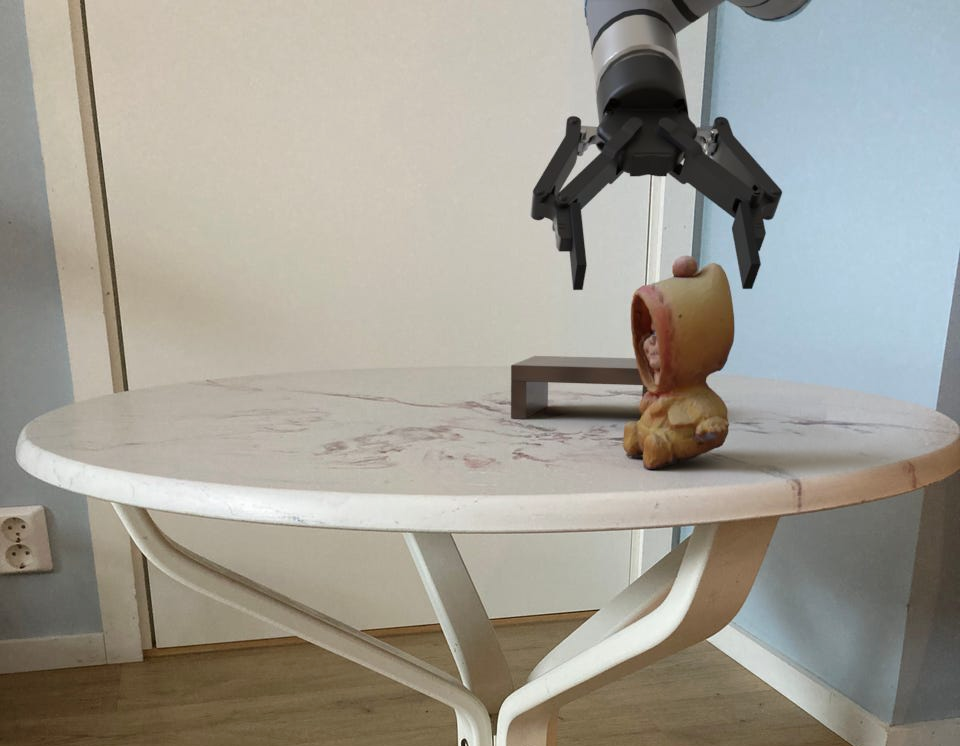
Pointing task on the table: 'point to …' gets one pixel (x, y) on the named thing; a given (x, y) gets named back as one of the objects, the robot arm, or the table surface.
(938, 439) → the table surface
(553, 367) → the shelf
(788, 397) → the table surface
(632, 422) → the figurine
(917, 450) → the table surface
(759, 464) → the table surface
